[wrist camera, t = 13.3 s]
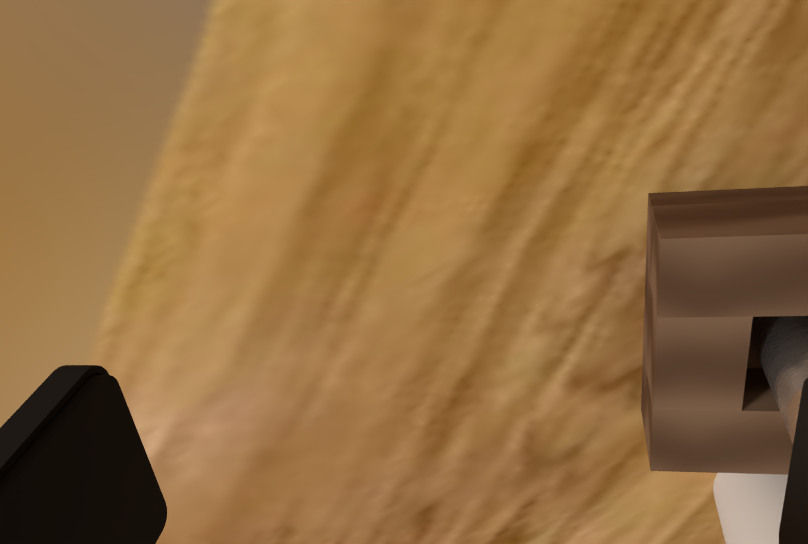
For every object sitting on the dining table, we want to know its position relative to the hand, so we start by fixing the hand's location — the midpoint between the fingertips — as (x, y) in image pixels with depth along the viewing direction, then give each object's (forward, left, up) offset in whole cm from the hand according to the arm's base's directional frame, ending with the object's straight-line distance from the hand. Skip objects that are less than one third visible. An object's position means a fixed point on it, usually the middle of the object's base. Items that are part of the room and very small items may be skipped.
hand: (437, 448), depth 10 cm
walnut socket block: (+16, +13, -28) cm, 35 cm away
